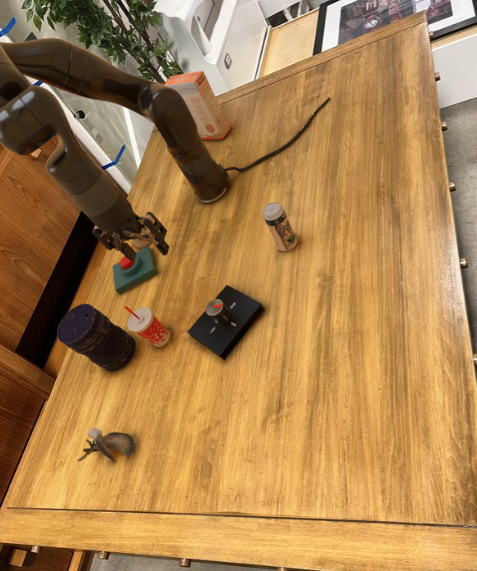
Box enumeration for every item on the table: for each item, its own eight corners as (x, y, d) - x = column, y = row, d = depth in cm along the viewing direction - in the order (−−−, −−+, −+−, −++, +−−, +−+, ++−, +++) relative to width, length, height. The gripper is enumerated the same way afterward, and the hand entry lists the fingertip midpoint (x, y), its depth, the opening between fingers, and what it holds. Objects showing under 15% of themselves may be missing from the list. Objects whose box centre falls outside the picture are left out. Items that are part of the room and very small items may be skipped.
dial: (213, 326, 83) (203, 315, 80) (215, 311, 86) (206, 299, 82) (230, 324, 82) (221, 313, 78) (232, 308, 84) (223, 296, 81)
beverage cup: (177, 337, 89) (142, 305, 79) (156, 355, 89) (118, 325, 78) (166, 321, 93) (132, 289, 83) (146, 338, 93) (109, 308, 82)
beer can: (292, 253, 90) (276, 218, 81) (275, 250, 92) (257, 216, 84) (301, 237, 92) (286, 201, 83) (283, 235, 94) (267, 199, 85)
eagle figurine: (87, 477, 76) (119, 474, 72) (68, 449, 75) (99, 444, 70) (111, 447, 83) (142, 443, 78) (94, 421, 81) (124, 415, 77)
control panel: (230, 290, 91) (226, 284, 89) (265, 309, 84) (261, 302, 82) (192, 337, 87) (186, 331, 86) (224, 360, 81) (219, 355, 79)
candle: (149, 246, 113) (129, 223, 105) (134, 249, 115) (113, 226, 108) (154, 232, 116) (135, 208, 108) (139, 235, 118) (119, 212, 111)
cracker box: (231, 128, 133) (203, 69, 117) (222, 140, 130) (193, 81, 115) (201, 129, 141) (171, 74, 125) (192, 140, 138) (161, 85, 123)
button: (134, 256, 107) (130, 252, 106) (135, 265, 105) (131, 261, 103) (122, 263, 107) (119, 259, 106) (124, 271, 105) (120, 267, 104)
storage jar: (105, 380, 90) (58, 352, 79) (98, 349, 97) (54, 320, 86) (140, 356, 90) (98, 326, 79) (131, 327, 97) (92, 295, 86)
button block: (152, 250, 111) (144, 241, 108) (157, 273, 105) (149, 264, 102) (117, 270, 113) (108, 261, 110) (119, 294, 106) (110, 286, 103)
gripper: (138, 177, 70) (182, 236, 82) (79, 193, 75) (128, 245, 87) (124, 208, 66) (173, 265, 78) (63, 221, 71) (117, 272, 83)
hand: (149, 254), depth 82 cm, fingers open, 8 cm apart
